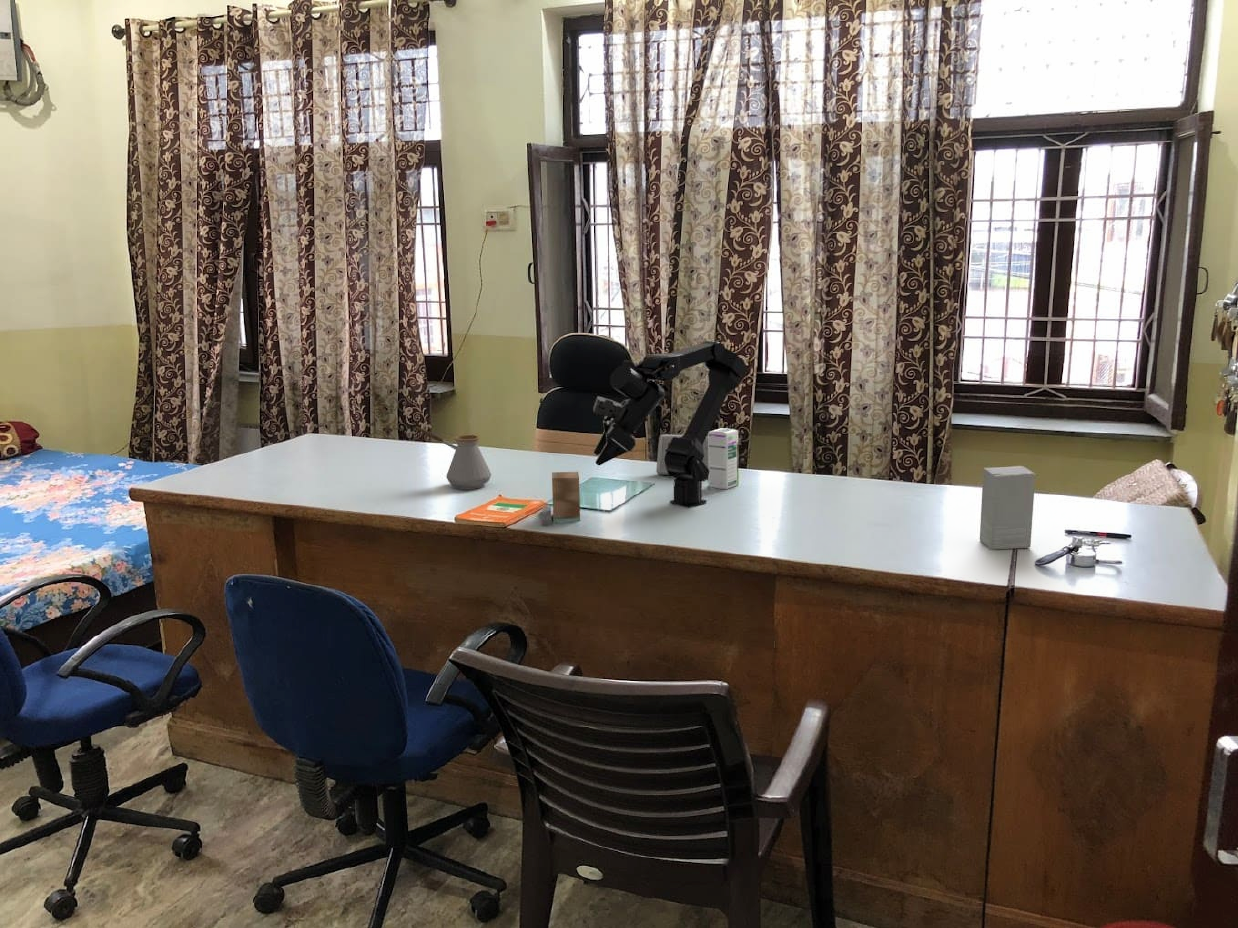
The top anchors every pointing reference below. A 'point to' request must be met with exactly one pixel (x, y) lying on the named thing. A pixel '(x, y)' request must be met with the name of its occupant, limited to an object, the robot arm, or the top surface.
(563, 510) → the walnut block
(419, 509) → the top surface
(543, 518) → the grey thin bar
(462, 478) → the coffee pot
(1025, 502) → the skincare box
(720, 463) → the syrup box
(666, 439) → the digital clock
